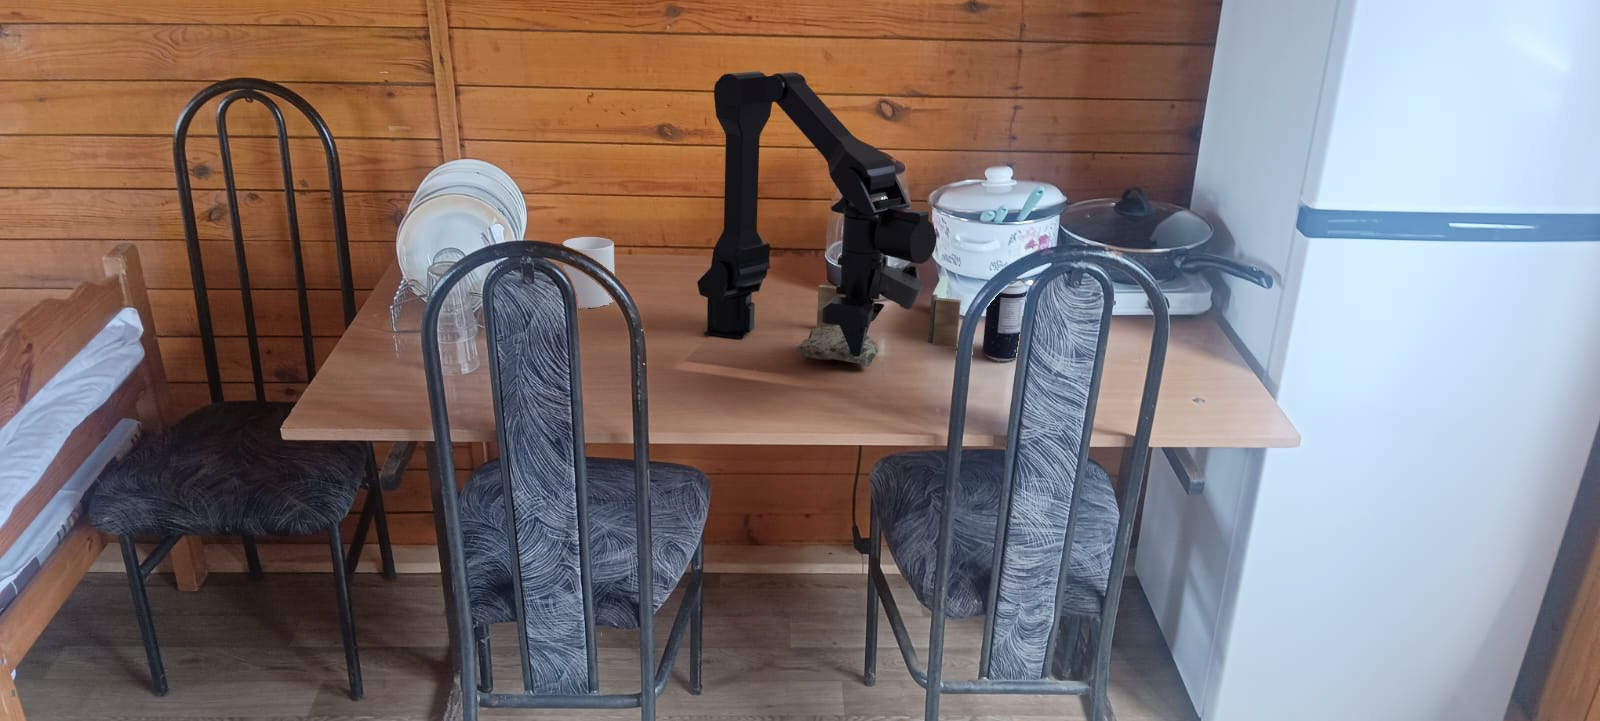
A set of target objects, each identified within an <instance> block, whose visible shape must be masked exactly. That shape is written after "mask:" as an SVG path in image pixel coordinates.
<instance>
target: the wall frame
mask: <svg viewBox="0 0 1600 721" xmlns="http://www.w3.org/2000/svg"><path fill="white" fill-rule="evenodd" d="M837 286H838V285H835V286H834V285H827V284H826V285H824V284H820V285H819V286H818V290H817V291H818V292H817V308H816V309H817V312H816V313H817V314H816V327H820V328H823V327H827V326H834V325H833V324H825V323H823V322H822V318H823V308H824V307H825V306H826V305H827V304H828V302H829V301H831V300H832V299H833V298H834V297H835V296H839V297H845V295H844V294H836V287H837ZM931 297H932V298H931ZM931 297H930V298H931V299H930V310H931V311H930V312H929V313H930V315H929V324H928V325H929V326H928V327H929V328H928V336H927V337H928V340H927V342H928V343H930V344H933V345H943V346H950V347H957V346H958V339H959V338H958V335H959V326H960V316H961V314H960V313H961V304H962V303H961V302H962V300H961V299H956V298H955V299H953V298H947V297H946V298H937V295H935V294H933V293H932V294H931Z"/></svg>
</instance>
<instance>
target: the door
mask: <svg viewBox="0 0 1600 721" xmlns="http://www.w3.org/2000/svg"><path fill="white" fill-rule="evenodd" d="M948 281H949V276H948V275H941V277H940V279H939V280H938V282H937V285H936V287H935V289H934V290H933V293H932V295H933V294H935V295H937V298H946V299H947V295H946V291H947V292H948V283H949V282H948ZM930 298H932V296H931V297H930ZM930 311H931V309H930Z"/></svg>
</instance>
